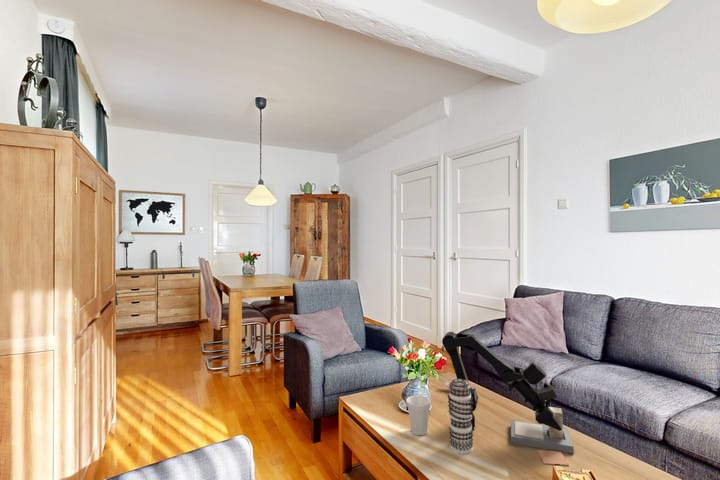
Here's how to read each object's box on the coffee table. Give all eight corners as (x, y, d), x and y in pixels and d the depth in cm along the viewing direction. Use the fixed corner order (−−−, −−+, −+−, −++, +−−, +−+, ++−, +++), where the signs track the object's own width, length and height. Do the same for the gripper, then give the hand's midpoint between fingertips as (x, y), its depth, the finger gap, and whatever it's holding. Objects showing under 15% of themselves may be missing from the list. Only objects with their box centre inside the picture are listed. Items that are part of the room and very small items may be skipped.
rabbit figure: (470, 394, 191) (442, 385, 198) (472, 383, 191) (443, 374, 198) (467, 399, 186) (438, 389, 193) (469, 387, 185) (440, 378, 192)
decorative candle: (471, 456, 134) (469, 387, 134) (446, 450, 139) (444, 383, 139) (476, 444, 142) (475, 379, 142) (452, 438, 147) (451, 375, 147)
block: (550, 443, 142) (549, 411, 142) (548, 437, 146) (548, 406, 146) (563, 445, 140) (562, 413, 140) (561, 439, 144) (561, 408, 144)
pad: (543, 464, 129) (543, 462, 129) (537, 451, 137) (537, 450, 137) (568, 465, 128) (568, 464, 128) (560, 452, 135) (560, 451, 135)
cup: (412, 424, 159) (411, 393, 159) (435, 429, 154) (434, 398, 154) (403, 435, 150) (402, 402, 150) (426, 441, 145) (425, 407, 145)
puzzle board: (511, 442, 143) (510, 435, 143) (511, 425, 156) (510, 418, 156) (573, 453, 135) (573, 445, 135) (568, 434, 148) (568, 427, 148)
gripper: (544, 388, 136) (580, 423, 132) (541, 371, 153) (572, 401, 149) (521, 406, 139) (556, 441, 135) (520, 387, 156) (550, 418, 152)
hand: (559, 424), depth 143 cm, fingers open, 9 cm apart
